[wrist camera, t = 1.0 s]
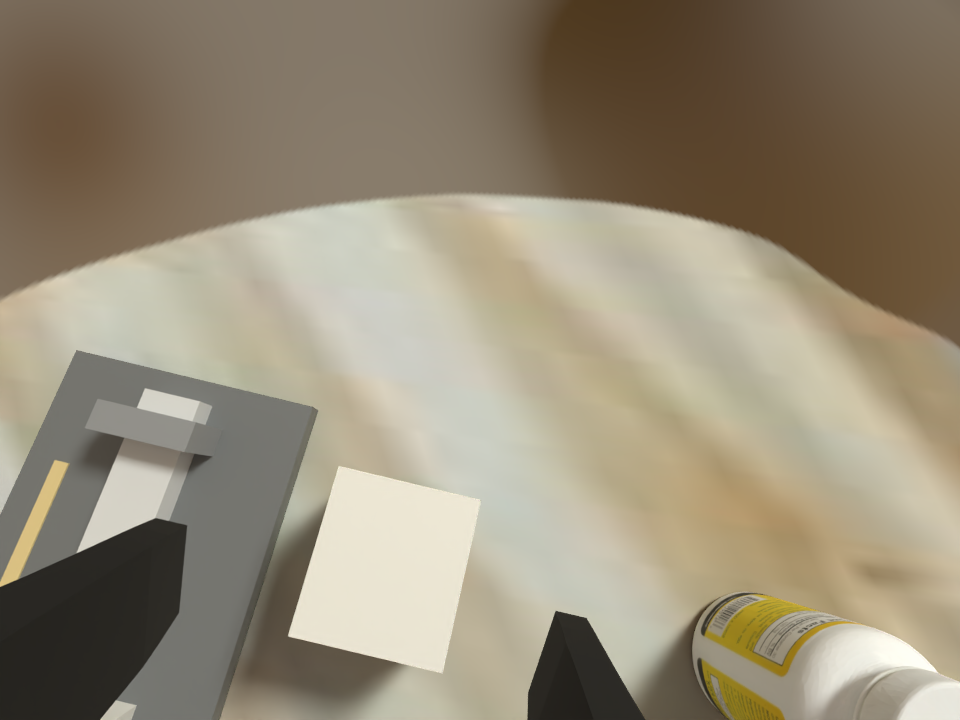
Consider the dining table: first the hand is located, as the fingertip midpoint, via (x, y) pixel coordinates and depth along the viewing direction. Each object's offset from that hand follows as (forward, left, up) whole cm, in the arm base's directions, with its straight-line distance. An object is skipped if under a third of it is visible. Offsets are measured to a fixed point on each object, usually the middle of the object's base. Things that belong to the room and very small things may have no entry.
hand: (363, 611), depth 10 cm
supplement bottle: (-1, -16, -14) cm, 21 cm away
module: (0, 0, -14) cm, 14 cm away
